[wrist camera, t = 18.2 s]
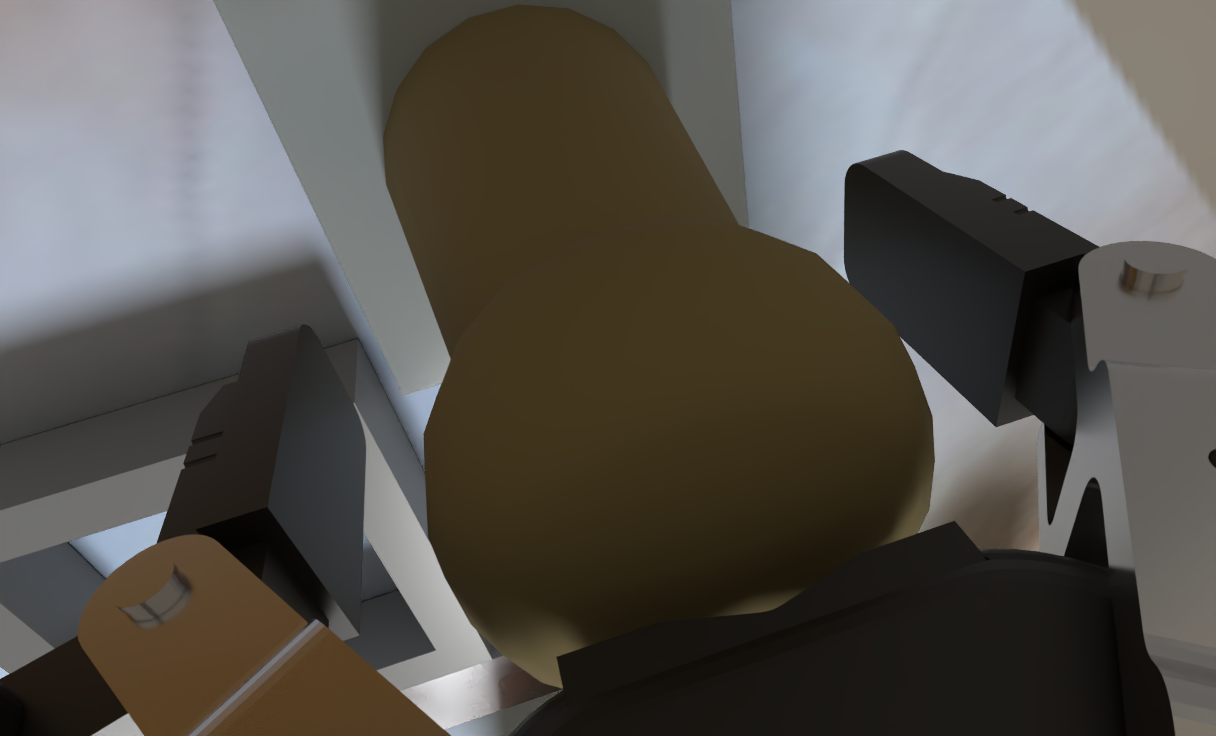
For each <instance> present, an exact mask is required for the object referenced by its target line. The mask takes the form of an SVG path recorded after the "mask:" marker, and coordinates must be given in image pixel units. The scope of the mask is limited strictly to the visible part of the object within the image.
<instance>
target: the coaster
mask: <svg viewBox="0 0 1216 736" xmlns="http://www.w3.org/2000/svg"><path fill="white" fill-rule="evenodd" d="M213 1H214V3H215V5H216V7H217V9H218V11H219V13H220V15H221V17H222V20H223V22H224V24H225V26H226V28H227V30H228V32H229V34H230V36H231V38H232V40H233V42H234V45H235V47H236V49H237V51H238V53H239V55H240V57H241V59H242V61H243V63H244V65H245V68H246V70H247V72H248V74H249V76H250V78H251V80H252V82H253V84H254V86H255V88H256V90H257V93H258V95H259V97H260V99H261V101H262V103H263V105H264V107H265V109H266V111H267V113H268V116H269V118H270V120H271V122H272V124H273V126H274V128H275V130H276V132H277V134H278V136H279V138H280V141H281V143H282V145H283V147H284V149H285V151H286V153H287V155H288V157H289V159H290V161H291V164H292V166H293V168H294V170H295V172H296V174H297V176H298V178H299V180H300V182H301V184H302V187H303V189H304V191H305V193H306V195H307V197H308V199H309V201H310V203H311V205H312V207H313V209H314V212H315V214H316V216H317V218H318V220H319V222H320V224H321V226H322V228H323V230H324V232H325V235H326V237H327V239H328V241H329V243H330V245H331V247H332V249H333V251H334V253H335V255H336V257H337V260H338V262H339V264H340V266H341V268H342V270H343V272H344V274H345V276H346V278H347V280H348V283H349V285H350V287H351V289H352V291H353V293H354V295H355V297H356V299H357V301H358V303H359V305H360V308H361V310H362V312H363V314H364V316H365V318H366V320H367V322H368V324H369V326H370V328H371V331H372V333H373V335H374V337H375V339H376V341H377V343H378V345H379V347H380V349H381V351H382V354H383V356H384V358H385V360H386V362H387V364H388V366H389V368H390V370H391V372H392V374H393V376H394V379H395V381H396V383H397V385H398V387H399V389H400V391H401V393H402V395H406V394H409V393H413V392H416V391H419V390H422V389H426V388H429V387H432V386H435V385H439V384H442V381H443V379H444V376H445V373H446V371H447V368H448V365H449V363H450V360H451V359H450V356H449V353H448V351H447V348H446V345H445V343H444V340H443V337H442V335H441V332H440V329H439V326H438V324H437V321H436V318H435V316H434V313H433V310H432V307H431V305H430V302H429V299H428V297H427V294H426V291H425V289H424V286H423V283H422V280H421V278H420V275H419V272H418V270H417V267H416V264H415V262H414V259H413V256H412V253H411V251H410V248H409V245H408V243H407V240H406V237H405V235H404V232H403V229H402V226H401V224H400V221H399V218H398V216H397V213H396V210H395V207H394V205H393V202H392V199H391V197H390V194H389V191H388V189H387V186H386V175H385V159H384V144H383V136H384V133H385V129H386V125H387V122H388V118H389V115H390V111H391V107H392V104H393V100H394V97H395V93H396V90H397V88H398V87H399V85H400V84H401V83H402V81H403V80H404V78H405V77H406V75H407V74H408V73H409V71H410V70H411V68H412V67H413V66H414V64H415V63H416V61H417V60H418V58H419V57H420V56H421V54H422V53H423V51H424V50H425V48H427V47H428V46H429V45H431V44H432V43H434V42H435V41H437V40H438V39H439V38H441V37H442V36H444V35H445V34H446V33H448V32H449V31H451V30H452V29H454V28H455V27H456V26H458V25H459V24H461V23H462V22H463V21H465V20H466V19H468V18H471V17H474V16H478V15H482V14H485V13H489V12H493V11H496V10H500V9H503V8H507V7H511V6H514V5H531V6H543V7H555V8H568V9H571V10H573V11H575V12H577V13H580V14H582V15H584V16H586V17H588V18H591V19H593V20H595V21H597V22H599V23H601V24H604V25H606V26H608V27H610V28H612V29H614V30H615V31H616V32H617V33H618V34H619V35H620V36H621V37H622V38H623V39H624V40H625V41H626V42H628V43H629V44H630V45H631V46H632V47H633V48H634V49H635V50H636V51H637V52H638V53H639V54H640V55H641V56H642V57H643V58H644V59H645V60H646V61H647V62H648V63H649V65H650V67H651V69H652V71H653V72H654V74H655V76H656V78H657V80H658V81H659V83H660V85H661V87H662V88H663V90H664V92H665V94H666V96H667V97H668V99H669V101H670V103H671V104H672V106H673V108H674V110H675V112H676V113H677V115H678V117H679V119H680V120H681V122H682V124H683V126H684V128H685V129H686V131H687V133H688V135H689V136H690V138H691V140H692V142H693V144H694V145H695V147H696V149H697V151H698V152H699V154H700V156H701V158H702V160H703V161H704V163H705V165H706V167H707V168H708V170H709V172H710V174H711V176H712V177H713V179H714V181H715V183H716V184H717V186H718V188H719V190H720V192H721V193H722V195H723V197H724V199H725V201H726V202H727V204H728V206H729V208H730V209H731V211H732V213H733V215H734V217H735V218H736V220H737V222H738V224H739V225H740V226H743V227H746V228H748V216H747V203H746V191H745V178H744V166H743V153H742V141H741V129H740V116H739V104H738V91H737V79H736V66H735V54H734V41H733V29H732V16H731V4H730V0H213Z"/></svg>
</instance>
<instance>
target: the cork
mask: <svg viewBox="0 0 1216 736" xmlns="http://www.w3.org/2000/svg"><path fill="white" fill-rule="evenodd" d="M383 144H384V159H385V175H386V186H387V189H388V191H389V194H390V197H391V199H392V202H393V205H394V207H395V210H396V213H397V216H398V218H399V221H400V224H401V226H402V229H403V232H404V235H405V237H406V240H407V243H408V245H409V248H410V251H411V253H412V256H413V259H414V262H415V264H416V267H417V270H418V272H419V275H420V278H421V280H422V283H423V286H424V289H425V291H426V294H427V297H428V299H429V302H430V305H431V307H432V310H433V313H434V316H435V318H436V321H437V324H438V326H439V329H440V332H441V335H442V337H443V340H444V343H445V345H446V348H447V351H448V353H449V356H450V359H451V360H450V363H449V365H448V368H447V371H446V373H445V376H444V379H443V381H442V384H441V386H440V389H439V392H438V394H437V397H436V400H435V403H434V406H433V408H432V411H431V414H430V417H429V420H428V423H427V426H426V429H425V431H424V458H425V485H426V507H427V530H428V538H429V541H430V543H431V546H432V548H433V551H434V553H435V555H436V558H437V560H438V563H439V565H440V568H441V570H442V573H443V575H444V577H445V579H446V581H447V583H448V585H449V586H450V588H451V590H452V592H453V594H454V595H455V597H456V599H457V601H458V602H459V604H460V606H461V608H462V610H463V611H464V613H465V615H466V617H467V618H468V620H469V622H470V624H471V625H472V626H473V627H474V628H475V629H476V630H477V631H478V632H479V633H480V634H481V635H482V636H483V637H484V638H485V639H486V640H487V641H488V642H490V643H491V644H492V645H493V646H494V647H495V648H496V649H497V650H498V651H499V652H500V653H501V654H502V655H503V656H505V657H506V658H507V659H509V660H510V661H512V662H513V663H515V664H516V665H517V666H519V667H520V668H522V669H523V670H524V671H526V672H527V673H529V674H530V675H532V676H533V677H534V678H536V679H537V680H539V681H540V682H542V683H545V684H548V685H552V686H555V687H559V688H563V686H562V681H561V676H560V672H559V667H558V662H557V656H560V655H563V654H566V653H569V652H572V651H575V650H578V649H581V648H584V647H587V646H590V645H593V644H595V643H598V642H601V641H604V640H607V639H610V638H613V637H616V636H619V635H622V634H625V633H628V632H631V631H634V630H637V629H639V628H642V627H645V626H648V625H651V624H654V623H657V622H666V621H676V620H687V619H697V618H707V617H718V616H728V615H739V614H749V613H760V612H766V611H770V610H773V609H775V608H777V607H779V606H781V605H783V604H784V603H786V602H787V601H789V600H790V599H792V598H793V597H795V596H796V595H798V594H799V593H801V592H802V591H804V590H805V589H807V588H808V587H810V586H811V585H813V584H814V583H816V582H817V581H819V580H820V579H822V578H823V577H825V576H826V575H828V574H829V573H831V572H832V571H834V570H836V569H837V568H839V567H840V566H842V565H843V564H845V563H846V562H848V561H849V560H851V559H852V558H854V557H855V556H857V555H858V554H860V553H862V552H865V551H868V550H871V549H874V548H877V547H880V546H883V545H886V544H889V543H892V542H894V541H897V540H900V539H903V538H906V537H909V536H912V535H915V534H917V533H918V531H919V529H920V527H921V525H922V523H923V521H924V519H925V517H926V515H927V513H928V511H929V507H930V498H931V489H932V481H933V472H934V463H935V456H934V437H933V419H932V414H931V411H930V408H929V405H928V403H927V400H926V397H925V394H924V391H923V388H922V386H921V383H920V380H919V377H918V374H917V371H916V369H915V366H914V364H913V362H912V360H911V358H910V356H909V354H908V352H907V350H906V348H905V346H904V344H903V342H902V340H901V338H900V337H899V335H898V333H897V331H896V329H895V327H894V325H893V324H892V323H891V322H890V321H889V320H888V319H887V318H886V317H885V316H884V315H882V314H881V313H880V312H879V311H878V310H877V309H876V308H875V307H874V306H873V305H872V304H871V303H870V302H869V301H868V300H867V299H865V298H864V297H863V296H862V295H861V294H860V293H859V292H858V291H857V290H856V289H855V288H854V287H853V286H852V285H851V284H850V283H848V282H847V281H846V280H845V279H844V278H843V277H842V276H841V275H840V274H839V273H837V272H836V271H835V270H834V269H833V268H832V267H831V266H830V265H829V264H827V263H826V262H825V261H824V260H823V259H822V258H821V257H820V256H819V255H817V254H816V253H814V252H811V251H808V250H806V249H803V248H800V247H798V246H795V245H793V244H790V243H787V242H785V241H782V240H779V239H777V238H774V237H771V236H768V235H765V234H763V233H760V232H757V231H754V230H751V229H749V228H746V227H743V226H740V225H739V224H738V222H737V220H736V218H735V217H734V215H733V213H732V211H731V209H730V208H729V206H728V204H727V202H726V201H725V199H724V197H723V195H722V193H721V192H720V190H719V188H718V186H717V184H716V183H715V181H714V179H713V177H712V176H711V174H710V172H709V170H708V168H707V167H706V165H705V163H704V161H703V160H702V158H701V156H700V154H699V152H698V151H697V149H696V147H695V145H694V144H693V142H692V140H691V138H690V136H689V135H688V133H687V131H686V129H685V128H684V126H683V124H682V122H681V120H680V119H679V117H678V115H677V113H676V112H675V110H674V108H673V106H672V104H671V103H670V101H669V99H668V97H667V96H666V94H665V92H664V90H663V88H662V87H661V85H660V83H659V81H658V80H657V78H656V76H655V74H654V72H653V71H652V69H651V67H650V65H649V63H648V62H647V61H646V60H645V59H644V58H643V57H642V56H641V55H640V54H639V53H638V52H637V51H636V50H635V49H634V48H633V47H632V46H631V45H630V44H629V43H628V42H626V41H625V40H624V39H623V38H622V37H621V36H620V35H619V34H618V33H617V32H616V31H615V30H614V29H612V28H610V27H608V26H606V25H604V24H601V23H599V22H597V21H595V20H593V19H591V18H588V17H586V16H584V15H582V14H580V13H577V12H575V11H573V10H571V9H568V8H555V7H543V6H531V5H514V6H511V7H507V8H503V9H500V10H496V11H493V12H489V13H485V14H482V15H478V16H474V17H471V18H468V19H466V20H465V21H463V22H462V23H461V24H459V25H458V26H456V27H455V28H454V29H452V30H451V31H449V32H448V33H446V34H445V35H444V36H442V37H441V38H439V39H438V40H437V41H435V42H434V43H432V44H431V45H429V46H428V47H427V48H425V50H424V51H423V53H422V54H421V56H420V57H419V58H418V60H417V61H416V63H415V64H414V66H413V67H412V68H411V70H410V71H409V73H408V74H407V75H406V77H405V78H404V80H403V81H402V83H401V84H400V85H399V87H398V88H397V90H396V93H395V97H394V100H393V104H392V107H391V111H390V115H389V118H388V122H387V125H386V129H385V133H384V136H383Z"/></svg>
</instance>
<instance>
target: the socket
mask: <svg viewBox="0 0 1216 736" xmlns="http://www.w3.org/2000/svg"><path fill="white" fill-rule="evenodd" d="M324 350H325V352H326V354H327V356H328V358H329V359H330V361H331V363H332V365H333V367H334V369H335V371H336V372H337V374H338V376H339V378H340V380H341V382H342V384H343V385H344V387H345V389H346V391H347V393H348V395H349V397H350V398H351V400H352V402H353V404H354V406H355V408H356V410H357V412H358V415H359V417H360V420H361V423H362V427H363V430H364V435H365V440H366V470H365V499H364V527H363V532H364V534H365V536H366V537H367V539H368V541H369V542H370V544H371V545H372V547H373V549H374V550H375V552H376V554H377V555H378V557H379V558H380V560H381V562H382V563H383V565H384V567H385V568H386V570H387V571H388V573H389V575H390V576H391V578H392V580H393V581H394V583H395V584H396V586H397V588H398V589H399V590H397V591H394V592H391V593H388V594H385V595H382V596H379V597H376V598H373V599H370V600H367V601H364V602H361V612H360V636H357V637H354V638H351V639H348V640H344V642H345V643H346V644H347V645H348V646H349V647H350V648H352V649H353V650H354V651H355V652H356V653H357V654H358V655H359V656H361V657H362V658H363V659H364V660H365V661H366V662H367V663H369V664H370V665H371V666H372V667H373V668H374V669H375V670H377V671H378V672H379V673H380V674H381V675H382V676H383V677H385V678H386V679H387V680H388V681H389V682H390V683H391V684H393V685H394V686H395V687H396V688H397V689H398V690H399V691H401V690H404V689H407V688H410V687H413V686H416V685H419V684H422V683H425V682H428V681H430V680H433V679H436V678H439V677H442V676H445V675H448V674H451V673H454V672H457V671H460V670H463V669H466V668H469V667H472V666H475V665H478V664H481V663H484V662H487V661H489V660H492V653H491V645H490V642H488V641H487V640H486V639H485V638H484V637H483V636H482V635H481V634H480V633H479V632H478V631H477V630H476V629H475V628H474V627H473V626H472V625H471V624H470V622H469V620H468V618H467V617H466V615H465V613H464V611H463V610H462V608H461V606H460V604H459V602H458V601H457V599H456V597H455V595H454V594H453V592H452V590H451V588H450V586H449V585H448V583H447V581H446V579H445V577H444V575H443V573H442V570H441V568H440V565H439V563H438V560H437V558H436V555H435V553H434V551H433V548H432V546H431V543H430V541H429V538H428V530H427V507H426V485H425V472H424V470H423V468H422V466H421V464H420V462H419V460H418V458H417V456H416V454H415V452H414V450H413V448H412V446H411V444H410V442H409V440H408V438H407V436H406V434H405V432H404V430H403V428H402V426H401V424H400V422H399V420H398V418H397V415H396V413H395V411H394V409H393V407H392V405H391V403H390V401H389V399H388V397H387V395H386V393H385V391H384V389H383V387H382V385H381V383H380V381H379V379H378V377H377V375H376V373H375V371H374V369H373V367H372V365H371V363H370V361H369V359H368V357H367V355H366V353H365V351H364V349H363V347H362V345H361V343H360V341H359V339H355V340H352V341H348V342H345V343H342V344H338V345H335V346H332V347H328V348H325V349H324ZM238 377H239V374H238V375H234V376H231V377H227V378H224V379H221V380H217V381H214V382H211V383H207V384H204V385H201V386H197V387H194V388H190V389H187V390H184V391H180V392H177V393H174V394H170V395H167V396H164V397H160V398H157V399H154V400H150V401H147V402H143V403H140V404H137V405H133V406H130V407H127V408H123V409H120V410H117V411H113V412H110V413H106V414H103V415H100V416H96V417H93V418H90V419H86V420H83V421H80V422H76V423H73V424H70V425H66V426H63V427H59V428H56V429H53V430H49V431H46V432H43V433H39V434H36V435H33V436H29V437H26V438H22V439H19V440H16V441H12V442H9V443H6V444H2V445H0V667H1V668H3V669H4V670H5V671H7V672H8V673H9V674H10V673H12V672H14V671H16V670H18V669H19V668H21V667H23V666H25V665H26V664H28V663H30V662H32V661H34V660H35V659H37V658H39V657H41V656H43V655H44V654H46V653H48V652H50V651H51V650H53V649H55V648H57V647H59V646H60V645H62V644H64V643H66V642H67V641H69V640H71V639H73V638H74V637H76V636H78V625H79V621H80V618H81V615H82V612H83V610H84V608H85V606H86V605H87V603H88V601H89V600H90V598H91V597H92V595H93V594H94V592H95V591H96V590H97V589H98V587H99V586H100V585H101V584H102V583H103V582H104V581H105V579H104V578H103V577H102V576H101V575H100V574H99V573H98V572H97V571H96V570H95V569H94V568H93V567H92V566H91V565H90V564H89V563H88V562H87V561H86V560H85V559H84V558H83V557H82V556H80V555H79V554H78V553H77V552H76V551H75V550H74V549H73V548H72V547H71V546H70V545H69V544H68V543H67V542H68V541H72V540H75V539H78V538H81V537H84V536H88V535H91V534H94V533H97V532H101V531H104V530H107V529H110V528H113V527H117V526H120V525H123V524H126V523H130V522H133V521H136V520H139V519H142V518H146V517H149V516H152V515H155V514H159V513H162V512H165V511H168V508H169V505H170V502H171V499H172V496H173V493H174V490H175V487H176V484H177V481H178V478H179V475H180V472H181V469H185V466H184V464H183V463H184V460H185V457H186V454H187V451H188V448H189V446H192V442H191V439H192V436H193V433H194V430H195V427H196V424H197V421H198V418H199V415H200V413H201V412H202V410H203V409H204V408H205V407H206V406H207V404H208V403H209V402H210V401H211V399H212V398H213V397H214V396H215V395H216V393H217V392H218V391H219V390H220V389H221V387H222V386H223V385H226V384H229V383H233V382H236V381H238Z"/></svg>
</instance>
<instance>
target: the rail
mask: <svg viewBox="0 0 1216 736" xmlns="http://www.w3.org/2000/svg"><path fill="white" fill-rule="evenodd" d="M490 645H491V653H492V660H489V661H487V662H484V663H481V664H478V665H475V666H472V667H469V668H466V669H463V670H460V671H457V672H454V673H451V674H448V675H445V676H442V677H439V678H436V679H433V680H430V681H428V682H425V683H422V684H419V685H416V686H413V687H410V688H407V689H404V690H401V692H402V693H403V694H404V695H405V696H406V697H407V698H409V699H410V700H411V701H412V702H413V703H414V704H415V705H417V706H418V707H419V708H420V709H421V710H422V711H423V712H425V713H426V714H427V715H428V716H429V717H430V718H431V719H432V720H434V721H435V722H436V723H437V724H438V725H439V726H440V727H442V728H443V729H444V730H445V729H448V728H451V727H453V726H456V725H459V724H462V723H465V722H468V721H471V720H474V719H477V718H480V717H482V716H485V715H488V714H491V713H494V712H497V711H500V710H503V709H506V708H508V707H511V706H514V705H517V704H520V703H523V702H526V701H529V700H532V699H535V698H537V697H540V696H543V695H546V694H549V693H552V692H555V691H558V690H561V689H563V688H559V687H555V686H552V685H548V684H545V683H542V682H540V681H539V680H537V679H536V678H534V677H533V676H532V675H530V674H529V673H527V672H526V671H524V670H523V669H522V668H520V667H519V666H517V665H516V664H515V663H513V662H512V661H510V660H509V659H507V658H506V657H505V656H503V655H502V654H501V653H500V652H499V651H498V650H497V649H496V648H495V647H494V646H493V645H492V644H491V643H490Z"/></svg>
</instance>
